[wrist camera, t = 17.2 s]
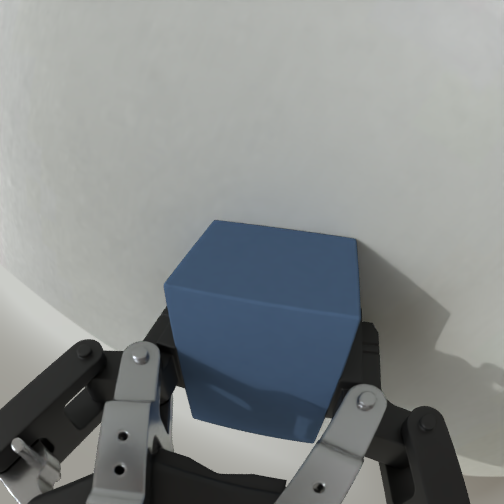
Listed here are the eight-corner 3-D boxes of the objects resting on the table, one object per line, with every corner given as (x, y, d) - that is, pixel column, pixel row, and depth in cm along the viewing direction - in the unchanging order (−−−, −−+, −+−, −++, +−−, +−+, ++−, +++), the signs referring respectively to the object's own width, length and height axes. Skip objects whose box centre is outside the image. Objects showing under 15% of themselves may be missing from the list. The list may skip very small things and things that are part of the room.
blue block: (221, 351, 15) (192, 418, 12) (213, 218, 11) (161, 284, 8) (324, 370, 14) (313, 444, 11) (356, 237, 10) (361, 318, 7)
